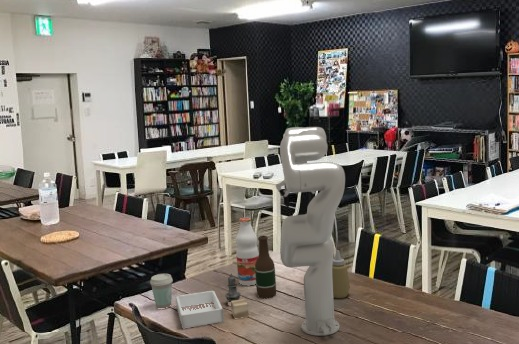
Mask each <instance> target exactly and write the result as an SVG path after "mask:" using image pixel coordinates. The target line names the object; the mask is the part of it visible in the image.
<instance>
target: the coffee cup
mask: <svg viewBox="0 0 519 344" xmlns="http://www.w3.org/2000/svg"><path fill="white" fill-rule="evenodd" d="M173 281H174V280H173V277H172V275H171V274H169V273H158V274H156V275H153V276H151V278H150V282H149V284H150V286H151V289H152V294H153V295H152V296H153V300H154V303H155V308H156V307H157V308H166V307H169V306H170V305H171V306H172V296H173V295H172V293H173V289H172V287H173ZM157 308H156V309H157Z"/></svg>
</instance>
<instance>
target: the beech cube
mask: <svg viewBox="0 0 519 344" xmlns="http://www.w3.org/2000/svg"><path fill="white" fill-rule="evenodd" d="M248 305H249V304H248V303H247V301H246V299H245V298H242V299H239V300H235V301H231V306H230V307H231V315H232V314H233V315H232V316H234V317H233V318H234V319H235V318H239V319H242V318H241V317H245V318H249V307H248Z"/></svg>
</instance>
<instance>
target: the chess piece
mask: <svg viewBox="0 0 519 344" xmlns="http://www.w3.org/2000/svg"><path fill="white" fill-rule="evenodd" d="M227 283H228V284H227V287H228V292H227V293H225V296H224V297H226V301H228V302H231V301H235V300H240V298H241V295H242V294H241V292H239V291H238V290H237V289H238V288H237V286H238V284H237V281H236V276H234V275H233V274H232V273H230V275H229V276H228V277H227Z"/></svg>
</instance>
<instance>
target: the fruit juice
mask: <svg viewBox="0 0 519 344" xmlns="http://www.w3.org/2000/svg"><path fill="white" fill-rule="evenodd" d="M238 220H239V224H240V225H239V228H238V231H237V234H236V236H235V244H236V246H237V247H236V251H235V252H236V253H235V255H236V266H237V281H238V284H239V283H240V284H242V285H254V286H256V285H255V284H256V274H255V263H256V260H257V259H258V257H259V246H257V244H258V236H257V233H255V230H254V229H253V226H252V219H251V217H247V216H245V217H240V218H239V219H238ZM240 284H239V285H240ZM242 285H241V286H242Z"/></svg>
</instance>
